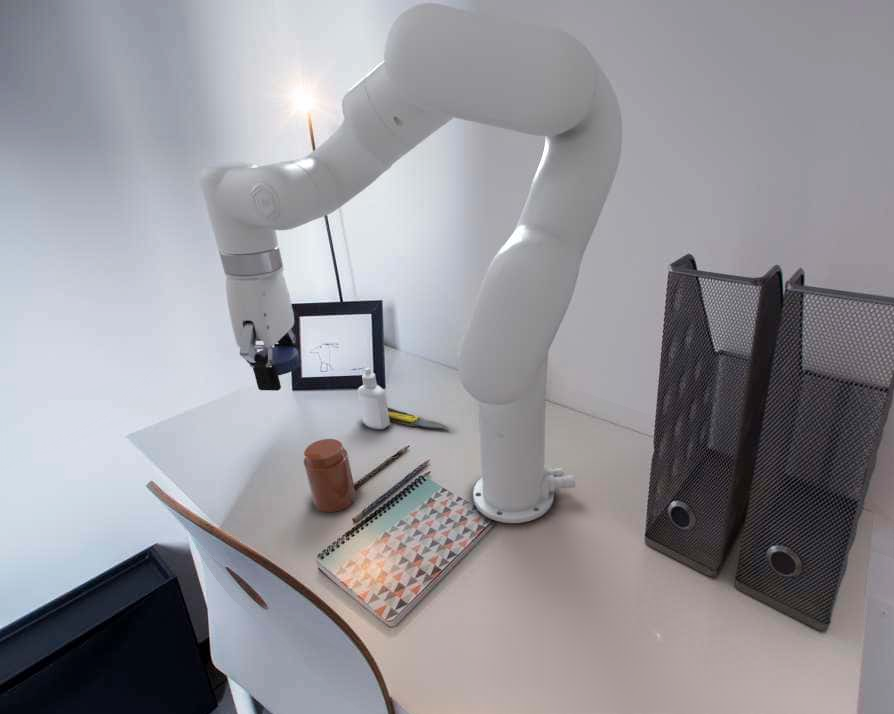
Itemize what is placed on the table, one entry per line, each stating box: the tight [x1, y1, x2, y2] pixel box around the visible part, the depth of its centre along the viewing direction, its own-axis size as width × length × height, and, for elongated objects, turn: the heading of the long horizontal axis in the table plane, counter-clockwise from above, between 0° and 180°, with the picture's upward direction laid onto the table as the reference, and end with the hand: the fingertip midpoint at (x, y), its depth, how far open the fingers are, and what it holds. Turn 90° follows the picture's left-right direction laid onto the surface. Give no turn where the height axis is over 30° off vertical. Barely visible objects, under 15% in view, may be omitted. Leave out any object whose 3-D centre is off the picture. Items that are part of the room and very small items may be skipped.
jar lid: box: [252, 346, 302, 376], centre depth 80 cm, size 7×7×2 cm
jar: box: [303, 438, 357, 513], centre depth 81 cm, size 6×6×10 cm
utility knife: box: [388, 407, 450, 430], centre depth 103 cm, size 16×1×3 cm
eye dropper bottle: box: [357, 367, 391, 430], centre depth 100 cm, size 4×6×12 cm
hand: (280, 377), depth 81 cm, fingers closed on jar lid, 6 cm apart
